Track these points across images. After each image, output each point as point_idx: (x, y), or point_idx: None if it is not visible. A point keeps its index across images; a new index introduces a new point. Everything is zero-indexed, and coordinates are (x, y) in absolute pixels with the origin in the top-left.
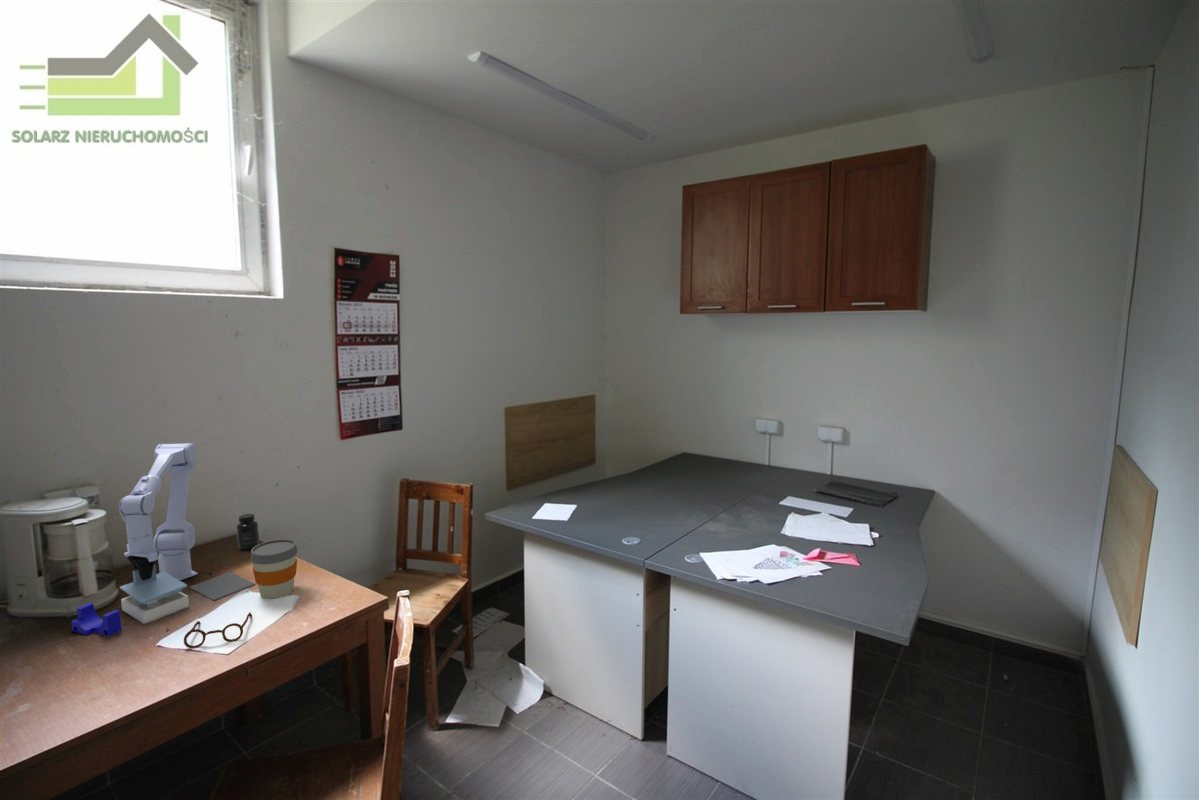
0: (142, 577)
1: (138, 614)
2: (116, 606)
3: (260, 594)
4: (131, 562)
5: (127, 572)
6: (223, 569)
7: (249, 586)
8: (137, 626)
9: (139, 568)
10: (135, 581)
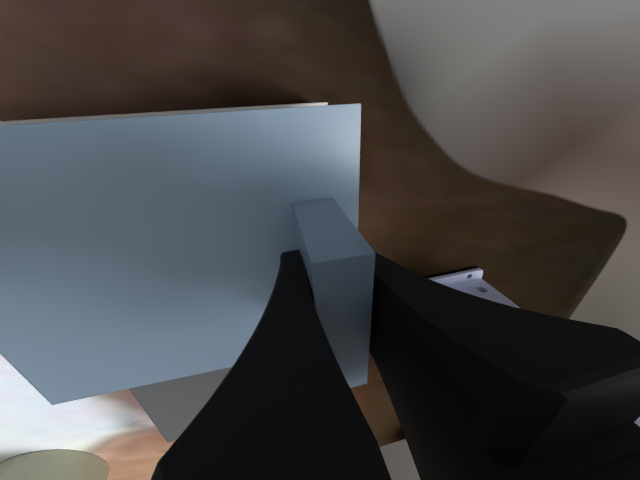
0: (280, 268)
1: (69, 117)
2: (378, 100)
3: (30, 463)
4: (478, 327)
5: (590, 216)
6: (355, 387)
7: (161, 431)
8: (10, 83)
9: (245, 346)
10: (301, 212)
